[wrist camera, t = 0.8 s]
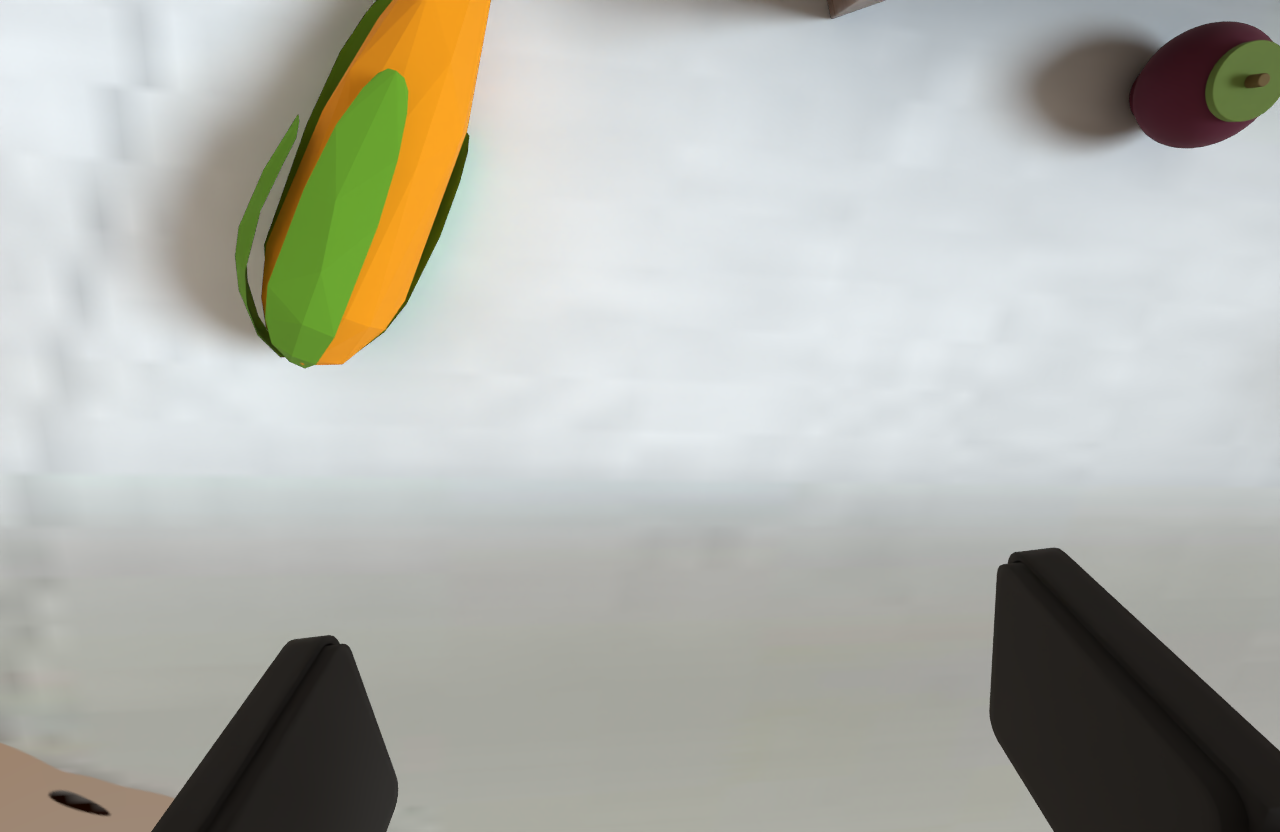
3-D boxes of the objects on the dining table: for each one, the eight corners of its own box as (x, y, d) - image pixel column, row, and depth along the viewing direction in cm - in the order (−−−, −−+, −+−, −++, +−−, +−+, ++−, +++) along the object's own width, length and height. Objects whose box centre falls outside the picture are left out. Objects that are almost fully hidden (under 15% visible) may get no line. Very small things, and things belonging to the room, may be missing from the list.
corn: (166, 346, 29) (336, -166, 23) (249, 303, 36) (396, -97, 30) (339, 423, 30) (539, -33, 24) (386, 367, 38) (551, 3, 31)
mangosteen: (1101, 53, 32) (1197, 33, 26) (1212, 17, 31) (1333, -12, 26) (1108, 162, 34) (1200, 164, 28) (1214, 129, 33) (1328, 124, 28)
